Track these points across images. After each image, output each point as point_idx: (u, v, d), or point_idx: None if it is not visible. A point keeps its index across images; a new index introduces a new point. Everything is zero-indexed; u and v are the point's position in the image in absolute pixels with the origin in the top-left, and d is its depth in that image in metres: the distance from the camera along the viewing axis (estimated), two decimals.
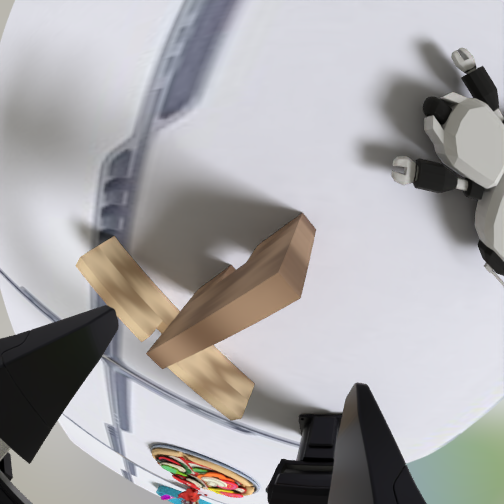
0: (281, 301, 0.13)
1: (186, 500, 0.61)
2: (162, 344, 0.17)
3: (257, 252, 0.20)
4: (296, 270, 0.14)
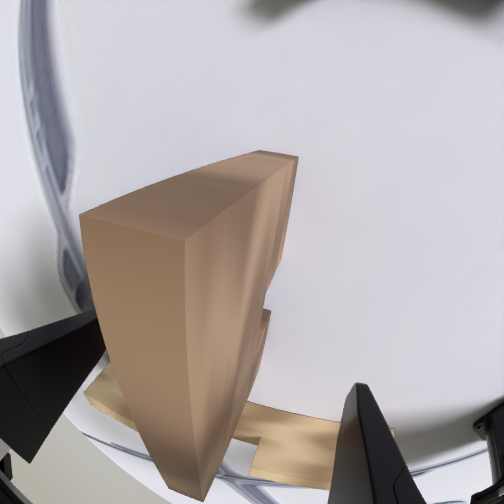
0: (161, 300, 0.03)
1: None
2: (162, 475, 0.07)
3: None
4: (197, 193, 0.04)
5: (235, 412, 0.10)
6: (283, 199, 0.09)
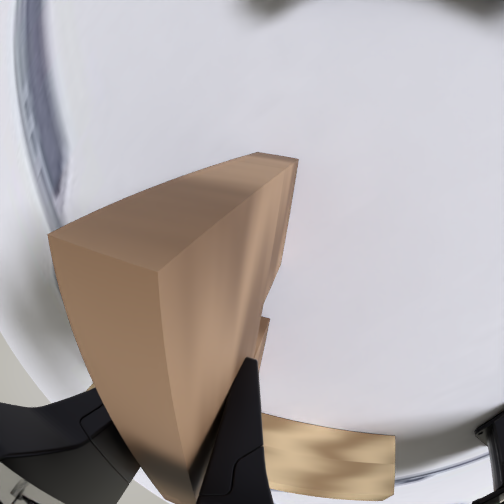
0: (138, 334, 0.03)
1: None
2: None
3: None
4: (182, 205, 0.04)
5: None
6: (282, 205, 0.08)
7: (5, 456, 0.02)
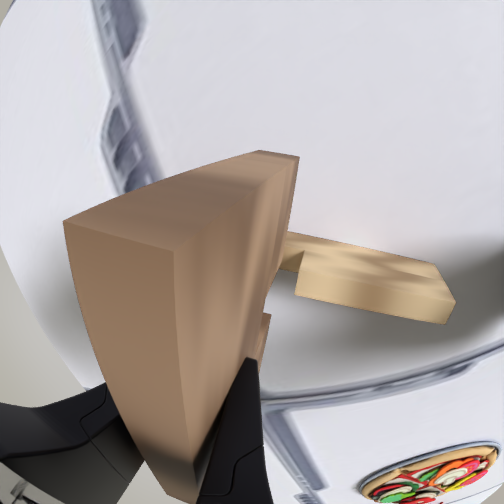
0: (150, 315, 0.03)
1: None
2: (160, 482, 0.07)
3: None
4: (191, 196, 0.04)
5: None
6: (284, 201, 0.09)
7: (5, 456, 0.02)
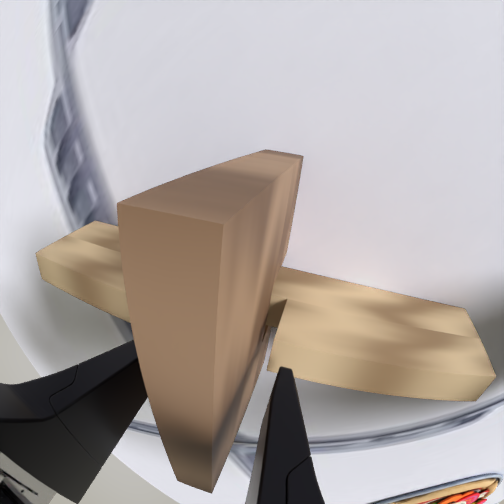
0: (196, 280, 0.04)
1: None
2: (172, 465, 0.08)
3: None
4: (222, 187, 0.05)
5: (243, 403, 0.11)
6: (290, 196, 0.09)
7: None
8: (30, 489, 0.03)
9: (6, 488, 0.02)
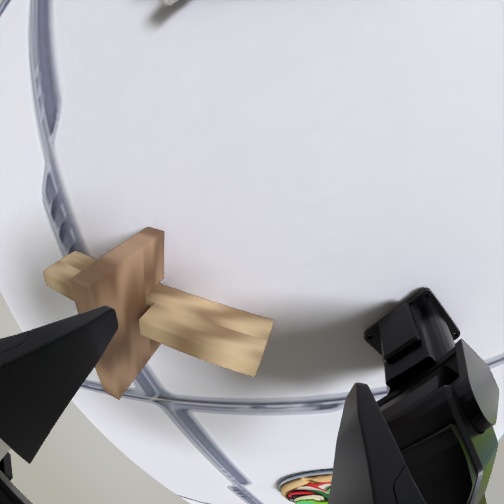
0: (86, 297, 0.15)
1: None
2: (99, 376, 0.19)
3: None
4: (96, 271, 0.16)
5: (136, 352, 0.22)
6: (147, 257, 0.20)
7: None
8: None
9: None
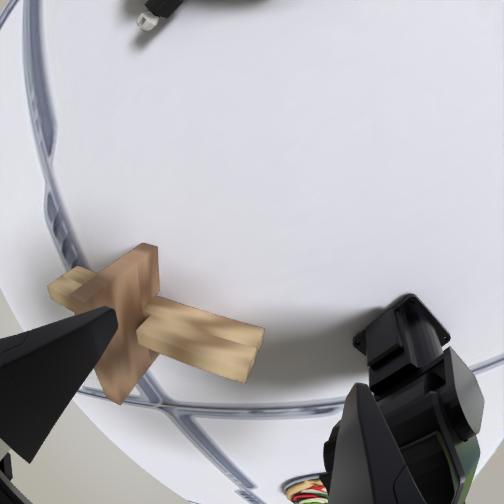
0: (84, 311, 0.16)
1: None
2: (101, 383, 0.20)
3: None
4: (93, 287, 0.17)
5: (135, 360, 0.23)
6: (142, 271, 0.22)
7: None
8: None
9: None
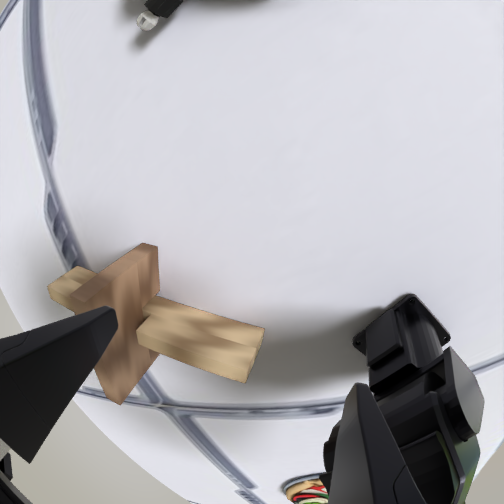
0: (84, 311, 0.16)
1: None
2: (101, 383, 0.20)
3: None
4: (93, 287, 0.17)
5: (136, 360, 0.23)
6: (142, 272, 0.22)
7: None
8: None
9: None
